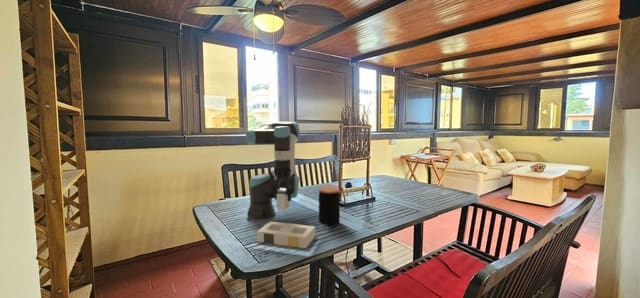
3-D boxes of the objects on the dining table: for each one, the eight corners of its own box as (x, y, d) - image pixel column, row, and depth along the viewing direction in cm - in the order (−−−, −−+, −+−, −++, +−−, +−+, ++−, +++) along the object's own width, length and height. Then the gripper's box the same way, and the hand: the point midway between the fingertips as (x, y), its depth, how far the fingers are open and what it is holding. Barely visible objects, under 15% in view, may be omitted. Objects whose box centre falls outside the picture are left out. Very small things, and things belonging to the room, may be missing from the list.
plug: (277, 210, 132) (277, 189, 130) (281, 207, 136) (280, 187, 134) (285, 211, 130) (285, 190, 129) (288, 208, 134) (288, 188, 133)
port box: (257, 245, 117) (256, 231, 117) (270, 233, 129) (270, 221, 128) (305, 252, 111) (305, 237, 110) (315, 239, 123) (315, 226, 122)
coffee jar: (327, 217, 150) (327, 185, 148) (343, 222, 143) (343, 188, 141) (314, 223, 142) (314, 189, 140) (331, 228, 135) (331, 192, 133)
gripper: (262, 159, 129) (263, 207, 132) (296, 161, 124) (296, 211, 127) (269, 157, 136) (270, 203, 139) (302, 158, 131) (302, 206, 134)
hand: (283, 206), depth 133 cm, fingers closed on plug, 4 cm apart
